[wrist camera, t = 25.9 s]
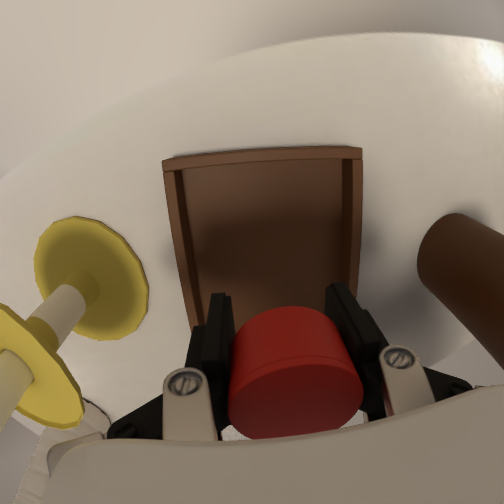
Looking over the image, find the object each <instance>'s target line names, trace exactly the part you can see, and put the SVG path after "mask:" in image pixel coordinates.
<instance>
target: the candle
mask: <svg viewBox="0 0 504 504" xmlns="http://www.w3.org/2000/svg"><path fill="white" fill-rule="evenodd" d="M34 270H35V279H36V283H37V285H38V288H39V290H40V293H41V295H42V297H43V300H44V302H43V303H42V304H41V305H40V306H39V307H38V308H37V309H36V310H35V311H34V312H33V313H32V314H31V315H30V317H29V318H28V319H27V320H26V321H24V320H23V319H22V318H21V317H20V316H18V315H17V314H16V313H15V312H14V311H13V310H11V309H10V308H9V307H8V306H6V305H4V304H2V303H0V434H1V432H2V430H3V428H4V426H5V425H6V423H7V421H8V419H9V418H10V416H11V414H12V413H13V411H14V409H16V410H17V411H18V412H20V413H21V414H22V415H24V416H26V417H28V418H30V419H32V420H34V421H36V422H38V423H40V424H42V425H44V426H48V427H53V428H57V429H62V430H65V429H70V428H74V427H78V426H79V424H80V422H81V420H82V417H83V415H84V413H85V406H84V402H83V398H82V394H81V390H80V387H79V385H78V384H77V382H76V381H75V379H74V378H73V376H72V374H71V373H70V371H69V370H68V368H67V366H66V365H65V363H64V361H63V360H62V359H61V357H60V356H59V355H58V354H57V353H56V352H57V350H58V349H59V347H60V346H61V344H62V343H63V342H64V340H65V339H66V338H67V336H68V335H69V333H70V332H71V331H72V330H73V331H75V332H76V333H77V334H80V335H83V336H86V337H89V338H92V339H95V340H98V341H103V340H119V339H121V338H123V337H124V336H126V335H128V334H130V333H132V332H133V331H135V330H136V329H137V328H138V326H139V324H140V323H141V321H142V319H143V318H144V316H145V315H146V313H147V308H148V294H149V286H148V283H147V280H146V277H145V274H144V271H143V268H142V264H141V261H140V260H139V259H138V257H137V256H136V255H135V253H134V252H133V251H132V249H131V248H130V247H129V245H128V244H127V242H126V241H125V240H124V238H123V237H122V236H120V235H119V234H117V233H116V232H114V231H113V230H111V229H110V228H108V227H107V226H106V225H104V224H103V223H101V222H100V221H96V220H92V219H87V218H82V217H78V216H73V217H70V218H66V219H63V220H60V221H56V222H54V223H53V224H52V225H51V226H50V227H49V228H48V229H47V230H46V231H45V232H44V233H43V234H42V236H41V237H40V238H39V241H38V245H37V248H36V252H35V255H34Z"/></svg>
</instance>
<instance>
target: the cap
mask: <svg viewBox="0 0 504 504" xmlns="http://www.w3.org/2000/svg"><path fill="white" fill-rule="evenodd" d="M363 395H364V390H363V385H362V383H361V381H360V378H359V376H358V374H357V371H356V369H355V367H354V364H353V362H352V360H351V357H350V355H349V353H348V351H347V348H346V346H345V344H344V342H343V339H342V337H341V335H340V333H339V331H338V329H337V326H336V325H335V324H334V322H333V321H332V320H331V319H330V318H329V317H327V316H326V315H324V314H323V313H321V312H319V311H317V310H314V309H311V308H306V307H300V306H286V307H278V308H274V309H270V310H268V311H265V312H262V313H260V314H258V315H256V316H255V317H253V318H251V319H250V320H249V321H247V322H246V323H245V324H244V325H243V326H242V327H241V328H240V329H239V330H238V332H237V333H236V334H235V336H234V338H233V340H232V343H231V368H230V381H229V389H228V417H229V420H230V422H231V424H232V425H233V427H234V428H235V429H236V430H237V431H238V432H240V433H241V434H243V435H244V436H246V437H248V438H250V439H253V440H255V439H268V438H278V437H287V436H296V435H303V434H310V433H317V432H323V431H329V430H334V429H338V428H340V427H341V426H343V425H344V424H345V423H347V422H348V421H349V420H350V419H351V418H352V417H353V416H354V415H355V413H356V412H357V411H358V409H359V407H360V406H361V403H362V400H363Z"/></svg>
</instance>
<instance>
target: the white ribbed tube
mask: <svg viewBox="0 0 504 504" xmlns="http://www.w3.org/2000/svg"><path fill="white" fill-rule="evenodd" d="M83 402H84V406H85V413H84V415H83V417H82V420H81V422H80V424H79V426H78V427H74V428H70V429H65V430H62V429H57V428H53V427H48V426H46V429H45V430H44V431H43V433H42V435H41V437H40V439H39V442H38V445H37V446H36V448H35V450H34V455H33V456H32V457H31V459H30V461H29V463H28V466H27V471H25V473H24V475H23V477H22V480H21V483H20V486H19V487H20V489H18V491H17V495H16V496H15V501H14V502H13V504H40V503H41V500H42V497H43V495H44V492H45V489H46V486H47V484H48V481H49V479H50V476H49V471H48V466H47V453H48V451H49V449H50V448H51V447H52V446H53V445H56V444H58V443H61V442H65V441H69V440H72V439H76V438H79V437H82V436H86V435H89V434H92V433H95V432H99V431H101V432H102V434H103V433H106V432H107V431H108V429H109V427H110V422H109V420H108V418H107V417H106V415H105V414H103V413H102V412H101V411H100V410H99V409H98V408H97V407H95V406H94V405H93V404H91V403H87V402H86V401H85V400H83Z"/></svg>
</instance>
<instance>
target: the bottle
mask: <svg viewBox="0 0 504 504" xmlns="http://www.w3.org/2000/svg"><path fill="white" fill-rule="evenodd" d="M417 266H418V274H419V277H420V280H421V282H422V283H423V285H424V286H425V287H426V288H427V289H428V290H429V291H431V292H432V293H433V294H434V295H435V296H436V297H437V298H438V299H439V300H440V301H441V302H442V303H443V304H444V305H445V306H446V307H447V308H448V309H449V310H450V311H451V312H452V313H453V314H454V315H455V317H456V318H457V319H458V320H459V321H460V322H461V323H462V324H463V325H464V326H465V327H466V328H467V329H468V330H469V331H470V332H471V333H472V335H473V336H474V337H475V338H476V339H477V340H478V341H479V342H480V343H481V344H482V346H483V347H484V348H485V349H486V350H487V351H488V352H489V353H490V354H491V356H492V357H493V358H494V359H495V360H496V362H497V363H498V364H499V365H500V366H501V367H502V368H503V370H504V235H502V234H501V233H499V232H497V231H495V230H493V229H491V228H489V227H487V226H485V225H483V224H481V223H479V222H477V221H475V220H473V219H471V218H469V217H467V216H465V215H462V214H457V213H455V214H450V215H447V216H444V217H443V218H441V219H440V220H438V221H437V222H436V223H435V224H434V225H433V226H432V227H431V228H430V230H429V231H428V233H427V234H426V236H425V238H424V240H423V242H422V244H421V247H420V250H419V255H418V262H417Z"/></svg>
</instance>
